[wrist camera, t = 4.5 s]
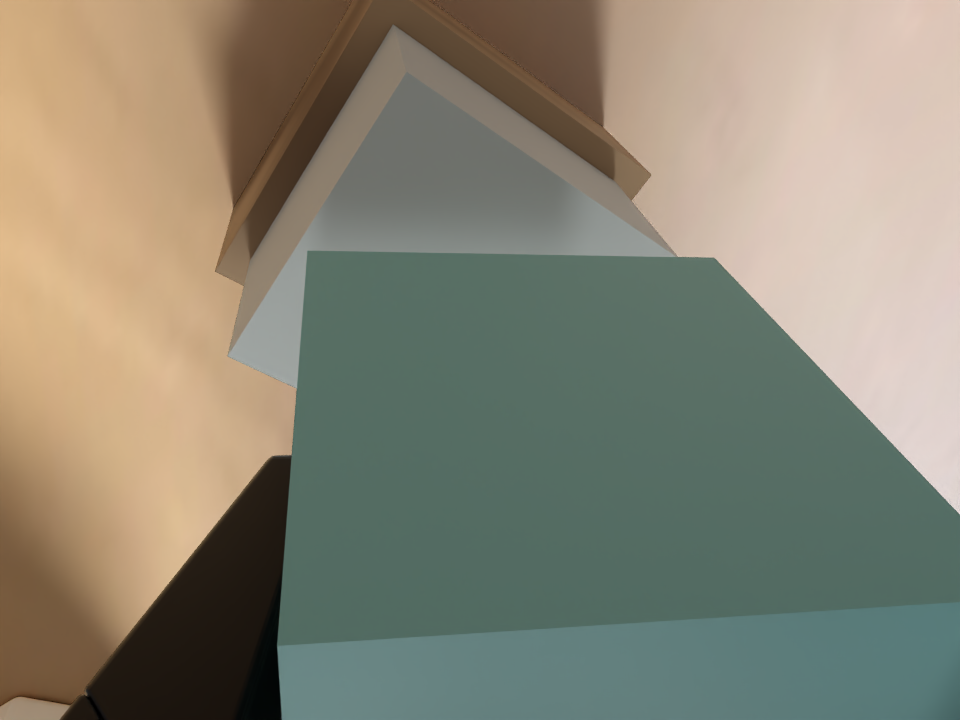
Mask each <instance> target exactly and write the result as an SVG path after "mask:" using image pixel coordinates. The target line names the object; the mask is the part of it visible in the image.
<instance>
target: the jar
mask: <svg viewBox="0 0 960 720" xmlns="http://www.w3.org/2000/svg"><path fill="white" fill-rule="evenodd" d="M70 706H71V705H66V704H60V703H55V702H49V701H43V700H37V699H32V698H26V697H16V698H14V699H12V700H10V701H8V702H7V703H5V704H3V705H2V706H0V720H60V718H61V717H62V716H63V715H64V713H65V712H66V711H67V709H68V708H69V707H70Z"/></svg>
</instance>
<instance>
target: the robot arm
mask: <svg viewBox="0 0 960 720" xmlns="http://www.w3.org/2000/svg"><path fill="white" fill-rule="evenodd" d="M291 458H292V455H282V456H272V457H270V458H269V459H268V460H267V461H266V462H265V464H264V465H263V466H262V467H261V469H260V470H259V471H258V472H257V474H256V475H255V476H254V477H253V479H252V480H251V481H250V482H249V484H248V485H247V486H246V487H245V489H244V490H243V491H242V492H241V494H240V495H239V496H238V497H237V499H236V500H235V501H234V502H233V504H232V505H231V506H230V507H229V509H228V510H227V511H226V512H225V514H224V515H223V516H222V517H221V519H220V520H219V521H218V522H217V524H216V525H215V526H214V527H213V529H212V530H211V531H210V532H209V534H208V535H207V536H206V537H205V539H204V540H203V541H202V542H201V544H200V545H199V546H198V547H197V549H196V550H195V551H194V552H193V554H192V555H191V556H190V557H189V559H188V560H187V561H186V563H185V564H184V565H183V566H182V568H181V569H180V570H179V571H178V573H177V574H176V575H175V576H174V578H173V579H172V580H171V581H170V583H169V584H168V585H167V586H166V588H165V589H164V590H163V591H162V593H161V594H160V595H159V596H158V598H157V599H156V600H155V601H154V603H153V604H152V605H151V606H150V608H149V609H148V610H147V611H146V613H145V614H144V615H143V616H142V618H141V619H140V620H139V621H138V623H137V624H136V625H135V626H134V628H133V629H132V630H131V631H130V633H129V634H128V635H127V636H126V638H125V639H124V640H123V641H122V643H121V644H120V645H119V646H118V648H117V649H116V650H115V651H114V653H113V654H112V655H111V656H110V658H109V659H108V660H107V661H106V663H105V664H104V665H103V666H102V668H101V669H100V670H99V671H98V673H97V674H96V675H95V676H94V678H93V679H92V680H91V681H90V683H89V684H88V685H87V686H86V688H85V690H84V692H85V695H79V696H78V697H77V698H76V699H75V701H74V702H73V703H72V704H71V706H70V707H69V708H68V709H67V711H66V712H65V713H64V715H63V716H62V717H61V718H60V720H282V712H281V697H280V681H279V666H278V651H277V642H278V629H279V616H280V602H281V589H282V576H283V563H284V550H285V537H286V524H287V511H288V498H289V485H290V472H291Z"/></svg>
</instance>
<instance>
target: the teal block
mask: <svg viewBox="0 0 960 720" xmlns="http://www.w3.org/2000/svg"><path fill="white" fill-rule="evenodd" d="M277 651H278V666H279V681H280V697H281V712H282V720H960V515H959V513H958V512H957V511H956V510H955V509H954V508H953V507H952V506H951V505H950V504H949V503H948V502H947V501H946V500H945V499H944V498H943V497H942V496H941V495H940V494H939V493H938V491H937V490H936V489H935V488H934V487H933V486H932V485H931V484H930V483H929V482H928V481H927V480H926V479H925V478H924V477H923V476H922V475H921V474H920V473H919V472H918V471H917V469H916V468H915V467H914V466H913V465H912V464H911V463H910V462H909V461H908V460H907V459H906V458H905V457H904V456H903V455H902V454H901V453H900V452H899V451H898V450H897V449H896V448H895V446H894V445H893V444H892V443H891V442H890V441H889V440H888V439H887V438H886V437H885V436H884V435H883V434H882V433H881V432H880V431H879V430H878V429H877V428H876V427H875V426H874V424H873V423H872V422H871V421H870V420H869V419H868V418H867V417H866V416H865V415H864V414H863V413H862V412H861V411H860V410H859V409H858V408H857V407H856V406H855V405H854V404H853V402H852V401H851V400H850V399H849V398H848V397H847V396H846V395H845V394H844V393H843V392H842V391H841V390H840V389H839V388H838V387H837V386H836V385H835V384H834V383H833V382H832V381H831V379H830V378H829V377H828V376H827V375H826V374H825V373H824V372H823V371H822V370H821V369H820V368H819V367H818V366H817V365H816V364H815V363H814V362H813V361H812V360H811V359H810V357H809V356H808V355H807V354H806V353H805V352H804V351H803V350H802V349H801V348H800V347H799V346H798V345H797V344H796V343H795V342H794V341H793V340H792V339H791V338H790V337H789V335H788V334H787V333H786V332H785V331H784V330H783V329H782V328H781V327H780V326H779V325H778V324H777V323H776V322H775V321H774V320H773V319H772V318H771V317H770V316H769V315H768V314H767V312H766V311H765V310H764V309H763V308H762V307H761V306H760V305H759V304H758V303H757V302H756V301H755V300H754V299H753V298H752V297H751V296H750V295H749V294H748V293H747V292H746V290H745V289H744V288H743V287H742V286H741V285H740V284H739V283H738V282H737V281H736V280H735V279H734V278H733V277H732V276H731V275H730V274H729V273H728V272H727V271H726V270H725V268H724V267H723V266H722V265H721V264H720V263H719V262H718V261H717V260H716V259H715V258H699V257H643V256H587V255H530V254H474V253H418V252H362V251H307V262H306V275H305V288H304V301H303V314H302V327H301V341H300V354H299V367H298V380H297V393H296V406H295V419H294V432H293V445H292V458H291V472H290V485H289V498H288V511H287V524H286V537H285V550H284V563H283V576H282V589H281V602H280V616H279V629H278V642H277Z"/></svg>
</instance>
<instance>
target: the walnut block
mask: <svg viewBox="0 0 960 720" xmlns="http://www.w3.org/2000/svg"><path fill="white" fill-rule="evenodd" d="M392 25H395V26H396V27H398V28H399V29H400V30H402V31H403V32H405V33H406V34H407V35H409V36H410V37H412V38H413V39H415V40H416V41H417V42H419V43H420V44H422V45H423V46H424V47H426V48H427V49H429V50H430V51H431V52H433V53H434V54H436V55H437V56H439V57H440V58H441V59H443V60H444V61H446V62H447V63H448V64H450V65H451V66H453V67H454V68H455V69H457V70H458V71H460V72H461V73H463V74H464V75H465V76H467V77H468V78H470V79H471V80H472V81H474V82H475V83H477V84H478V85H479V86H481V87H482V88H484V89H485V90H486V91H488V92H489V93H491V94H492V95H494V96H495V97H496V98H498V99H499V100H501V101H502V102H503V103H505V104H506V105H508V106H509V107H510V108H512V109H513V110H515V111H516V112H518V113H519V114H520V115H522V116H523V117H525V118H526V119H527V120H529V121H530V122H532V123H533V124H534V125H536V126H537V127H539V128H540V129H541V130H543V131H544V132H546V133H547V134H549V135H550V136H551V137H553V138H554V139H556V140H557V141H558V142H560V143H561V144H563V145H564V146H565V147H567V148H568V149H570V150H571V151H573V152H574V153H575V154H577V155H578V156H580V157H581V158H582V159H584V160H585V161H587V162H588V163H589V164H591V165H592V166H594V167H595V168H596V169H598V170H599V171H601V172H602V173H604V174H605V175H606V176H608V177H609V178H611V179H612V180H613V181H615V182H616V183H617V184H618V185H619V187H620V188H621V189H622V190H623V191H624V193H625V194H626V195H627V196H628V197H629V199H630V200H632V199H633V198H634V197H635V195H636V194H637V193H638V192H639V190H640V189H641V188H642V186H643V185H644V184H645V183H646V181H647V180H648V179H649V178H650V176H651V174H650V173H649V172H648V171H647V170H646V169H645V168H644V167H643V166H642V165H641V164H640V163H639V162H638V161H637V160H636V159H635V158H634V157H633V156H632V155H631V154H630V153H629V152H628V151H627V150H626V149H625V148H624V147H623V146H622V145H621V144H620V143H619V142H617V141H616V140H615V139H614V138H613V137H612V136H611V135H610V134H609V133H608V132H607V131H606V130H605V129H604V128H603V127H602V126H600V125H599V124H598V123H596V122H595V121H594V120H592V119H591V118H589V117H588V116H587V115H585V114H584V113H583V112H581V111H580V110H578V109H577V108H576V107H574V106H573V105H572V104H570V103H569V102H568V101H566V100H565V99H563V98H562V97H561V96H559V95H558V94H557V93H555V92H554V91H553V90H551V89H550V88H548V87H547V86H546V85H544V84H543V83H542V82H540V81H539V80H537V79H536V78H535V77H533V76H532V75H531V74H529V73H528V72H527V71H525V70H524V69H522V68H521V67H520V66H518V65H517V64H516V63H514V62H513V61H511V60H510V59H509V58H507V57H506V56H505V55H503V54H502V53H501V52H499V51H498V50H496V49H495V48H494V47H492V46H491V45H490V44H488V43H487V42H485V41H484V40H483V39H481V38H480V37H479V36H477V35H476V34H475V33H473V32H472V31H470V30H469V29H468V28H466V27H465V26H464V25H462V24H461V23H460V22H458V21H457V20H455V19H454V18H453V17H451V16H450V15H449V14H447V13H446V12H444V11H443V10H442V9H440V8H439V7H438V6H436V5H435V4H434V3H432V2H431V1H429V0H353V1H352V2H351V4H350V6H349V8H348V9H347V11H346V13H345V15H344V16H343V18H342V20H341V22H340V23H339V25H338V27H337V29H336V30H335V32H334V34H333V36H332V37H331V39H330V41H329V43H328V44H327V46H326V48H325V49H324V51H323V53H322V55H321V56H320V58H319V60H318V62H317V63H316V65H315V67H314V69H313V70H312V72H311V74H310V76H309V77H308V79H307V81H306V83H305V84H304V86H303V88H302V90H301V91H300V93H299V95H298V97H297V98H296V100H295V102H294V104H293V105H292V107H291V109H290V111H289V112H288V114H287V116H286V118H285V119H284V121H283V123H282V125H281V126H280V128H279V130H278V132H277V133H276V135H275V137H274V139H273V140H272V142H271V144H270V146H269V147H268V149H267V151H266V153H265V154H264V156H263V158H262V159H261V161H260V163H259V165H258V166H257V168H256V170H255V172H254V173H253V175H252V177H251V179H250V180H249V182H248V184H247V186H246V187H245V189H244V191H243V193H242V194H241V196H240V198H239V200H238V201H237V203H236V205H235V207H234V208H233V212H232V215H231V219H230V222H229V225H228V229H227V232H226V236H225V239H224V242H223V246H222V249H221V253H220V256H219V260H218V263H217V266H216V270H215V272H217V273H219V274H221V275H223V276H225V277H227V278H229V279H231V280H233V281H235V282H237V283H239V284H241V285H243V286H244V284H245V280H246V276H247V271H248V267H249V263H250V260H251V258H252V256H253V255H254V253H255V251H256V250H257V248H258V246H259V245H260V243H261V241H262V240H263V238H264V236H265V235H266V233H267V231H268V230H269V228H270V227H271V225H272V223H273V222H274V220H275V218H276V217H277V215H278V213H279V212H280V210H281V208H282V207H283V205H284V203H285V202H286V200H287V198H288V197H289V195H290V194H291V192H292V190H293V189H294V187H295V185H296V184H297V182H298V180H299V179H300V177H301V175H302V174H303V172H304V170H305V169H306V167H307V165H308V164H309V162H310V160H311V159H312V157H313V156H314V154H315V152H316V151H317V149H318V147H319V146H320V144H321V142H322V141H323V139H324V137H325V136H326V134H327V132H328V131H329V129H330V127H331V126H332V124H333V123H334V121H335V119H336V118H337V116H338V114H339V113H340V111H341V109H342V108H343V106H344V104H345V103H346V101H347V100H348V98H349V96H350V95H351V93H352V91H353V90H354V88H355V86H356V85H357V83H358V81H359V80H360V78H361V76H362V75H363V73H364V72H365V70H366V68H367V67H368V65H369V63H370V62H371V60H372V58H373V57H374V55H375V53H376V52H377V50H378V49H379V47H380V45H381V44H382V42H383V40H384V39H385V37H386V35H387V34H388V32H389V30H390V29H391V27H392Z"/></svg>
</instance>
